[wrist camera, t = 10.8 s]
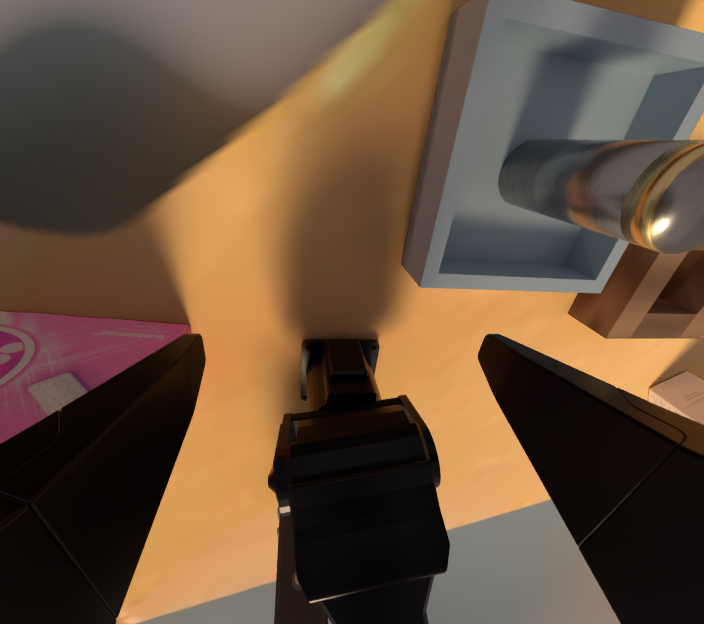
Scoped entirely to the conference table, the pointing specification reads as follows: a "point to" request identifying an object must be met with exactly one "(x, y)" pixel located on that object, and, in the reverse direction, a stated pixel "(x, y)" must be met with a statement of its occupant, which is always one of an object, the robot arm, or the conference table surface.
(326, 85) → the conference table surface
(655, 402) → the ink cartridge box
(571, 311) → the socket block
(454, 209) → the tray
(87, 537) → the robot arm
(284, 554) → the card reader
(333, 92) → the conference table surface
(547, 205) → the steel pin
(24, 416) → the gum box
